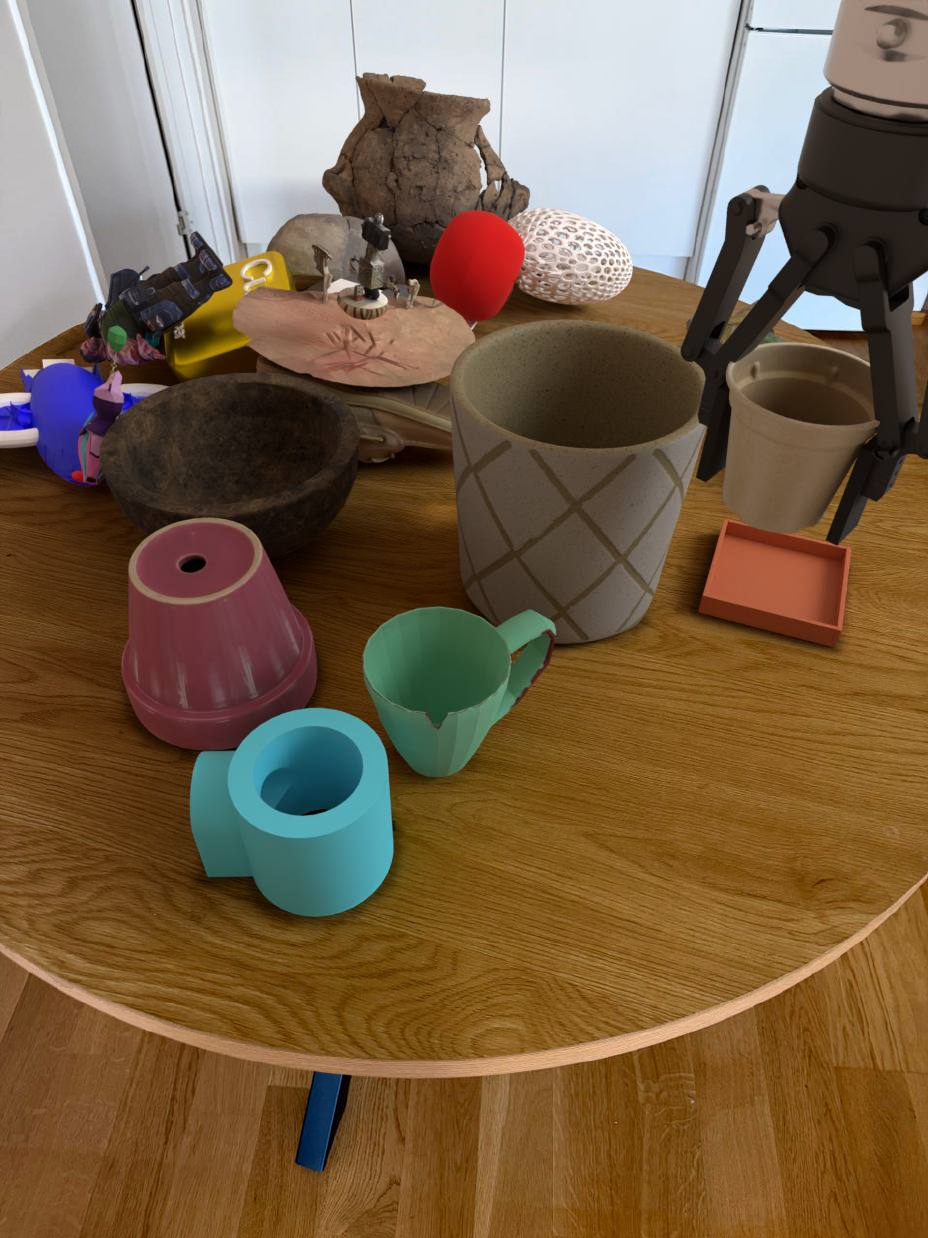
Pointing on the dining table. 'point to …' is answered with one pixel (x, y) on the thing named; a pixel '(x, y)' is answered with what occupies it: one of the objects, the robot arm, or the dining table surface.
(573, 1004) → the dining table surface
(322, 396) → the bowl
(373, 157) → the clay pot
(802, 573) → the pot tray
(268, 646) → the flower pot
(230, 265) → the element tile
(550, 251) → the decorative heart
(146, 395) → the toy airplane
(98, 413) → the toy
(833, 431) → the flower pot
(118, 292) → the action figure
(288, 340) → the sculpture
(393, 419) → the boat shoe
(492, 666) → the mug
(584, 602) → the planter
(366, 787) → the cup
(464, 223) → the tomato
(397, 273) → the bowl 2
